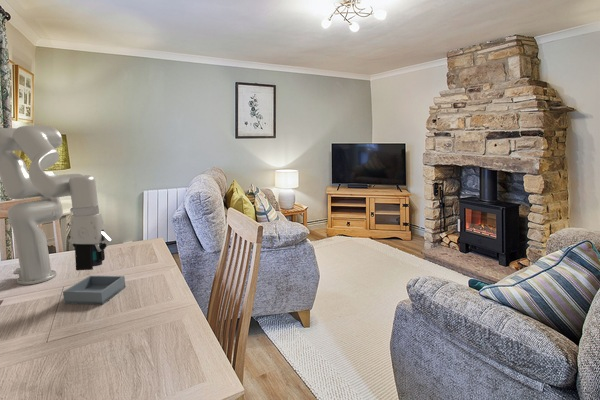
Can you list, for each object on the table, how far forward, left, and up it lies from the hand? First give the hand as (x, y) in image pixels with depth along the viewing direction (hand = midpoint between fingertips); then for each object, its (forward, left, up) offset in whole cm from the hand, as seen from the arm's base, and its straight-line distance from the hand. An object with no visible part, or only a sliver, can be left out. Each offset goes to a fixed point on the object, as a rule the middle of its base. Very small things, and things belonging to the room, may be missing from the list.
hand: (92, 260), depth 117 cm
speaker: (-1, 0, -2) cm, 2 cm away
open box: (0, 0, -13) cm, 13 cm away
